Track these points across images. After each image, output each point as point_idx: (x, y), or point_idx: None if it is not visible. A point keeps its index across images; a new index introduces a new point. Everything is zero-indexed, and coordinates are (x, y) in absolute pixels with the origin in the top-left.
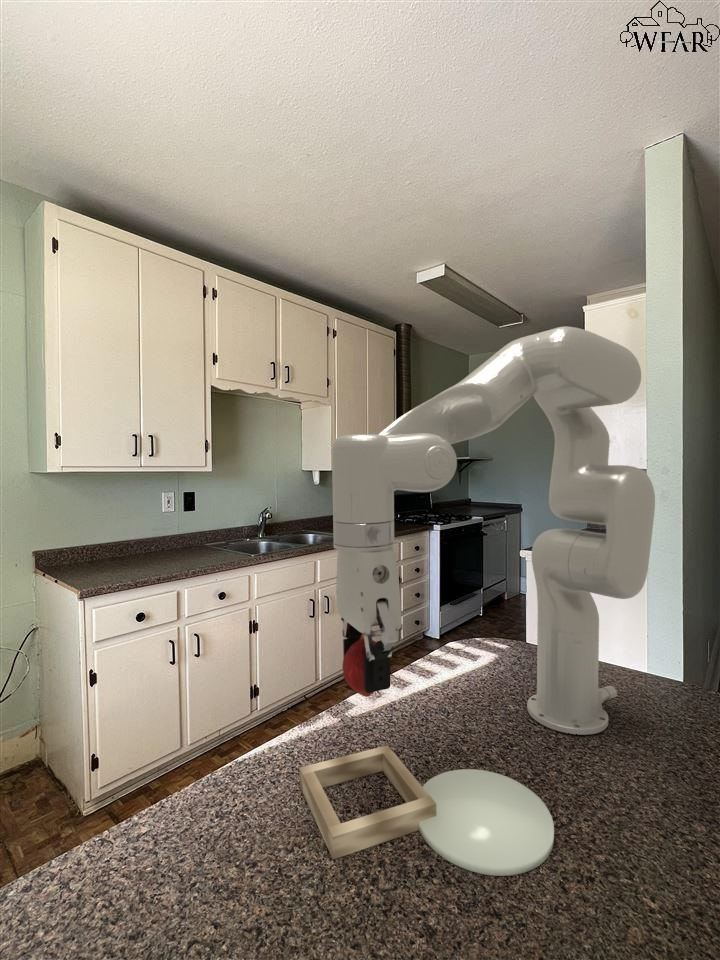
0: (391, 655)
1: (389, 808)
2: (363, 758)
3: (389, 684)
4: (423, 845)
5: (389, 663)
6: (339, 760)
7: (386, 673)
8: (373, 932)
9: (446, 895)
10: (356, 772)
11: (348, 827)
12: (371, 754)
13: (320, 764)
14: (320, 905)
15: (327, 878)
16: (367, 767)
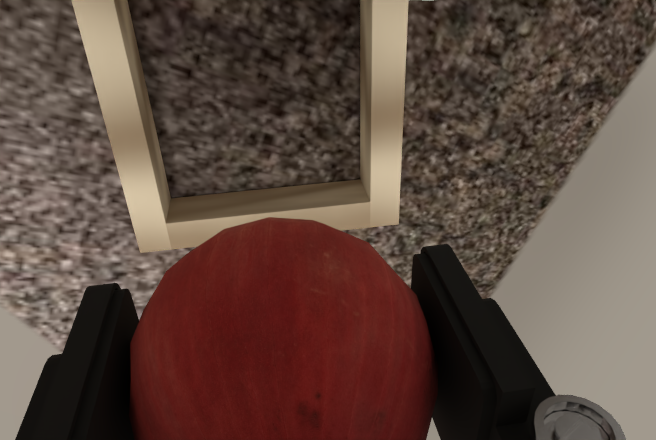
0: (605, 411)
1: (372, 82)
2: (132, 77)
3: (451, 254)
4: (436, 7)
5: (506, 344)
6: (127, 150)
7: (517, 337)
8: (542, 173)
9: (561, 23)
10: (142, 88)
11: (387, 190)
12: (113, 43)
13: (137, 203)
14: (460, 235)
15: (419, 216)
16: (133, 53)
